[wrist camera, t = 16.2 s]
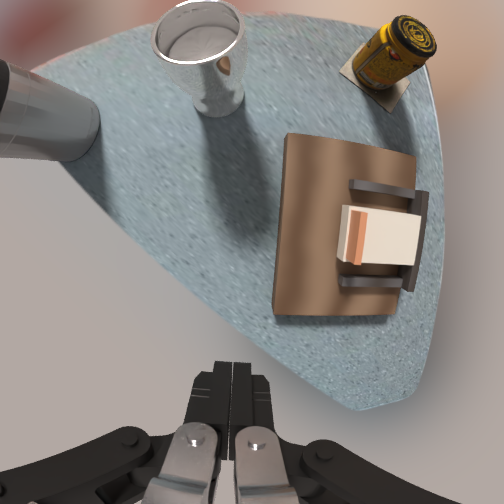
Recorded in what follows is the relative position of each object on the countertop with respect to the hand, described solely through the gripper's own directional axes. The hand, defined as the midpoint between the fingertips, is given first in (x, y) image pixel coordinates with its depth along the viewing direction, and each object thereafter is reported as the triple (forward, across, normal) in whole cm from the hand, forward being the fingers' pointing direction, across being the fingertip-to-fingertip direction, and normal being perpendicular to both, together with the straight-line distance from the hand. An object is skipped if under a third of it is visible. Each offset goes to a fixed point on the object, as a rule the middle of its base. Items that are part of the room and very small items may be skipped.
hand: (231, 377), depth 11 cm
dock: (+22, -12, -4) cm, 25 cm away
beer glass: (+22, +4, -19) cm, 29 cm away
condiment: (+22, -16, -25) cm, 37 cm away
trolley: (+19, -14, -4) cm, 24 cm away
